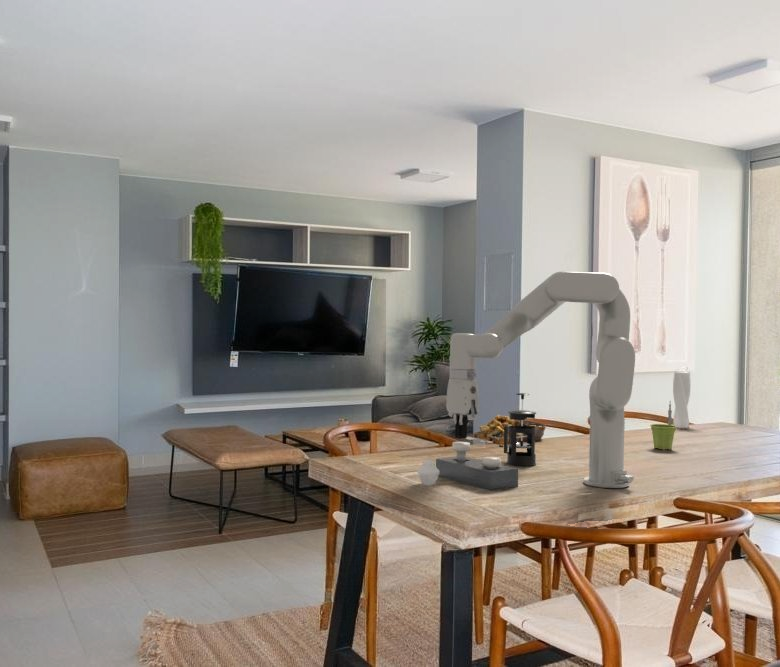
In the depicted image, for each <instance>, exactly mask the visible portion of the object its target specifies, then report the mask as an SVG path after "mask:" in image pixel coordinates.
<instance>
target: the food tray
mask: <svg viewBox="0 0 780 667" xmlns="http://www.w3.org/2000/svg"><path fill="white" fill-rule="evenodd" d="M521 422H522V420H513V419H510V416H508V415H507V416H506V415H500V414H496V416H494V418H492V420H490V421H489V422H488V424H485V425H479V431H474V432H473V433H472V434H473V437H471V436H467V438H464V439H465V440H469V441H477V442H480V443H481V444H488V445H493V444H494V445H495V444H497V445H498V447H499V448H501V447H502V448H504V427H505V426H521ZM531 424H532V425H531ZM523 426H532V427H536V432H535V441H539V440H542V438H543V437H544V435H545V429H547V425H545V424H543V423H540V422H537V421H533V420H528V419H525V420H523ZM520 441H521V433H516V442H517V443H520ZM522 441H523V443H527V433H522ZM508 445H509V431H508Z"/></svg>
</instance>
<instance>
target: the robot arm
mask: <svg viewBox="0 0 780 667" xmlns="http://www.w3.org/2000/svg"><path fill="white" fill-rule="evenodd" d="M567 302H568V303H581V304H582V303H583V304H584V303H585V304H586V303H587V304H594V305H595V306H596V308H597V310H598V315H599V322H598V334H597V342H596V348H595V358H596V361H597V362H598V371H597V376H596V377H595V378H594V379H593V380H592V381H591V383H590V387H589V394H588V396H589V397H588V398H589V399H588V400H589V417H590V418H589V454H588V455H589V456H588V457H589V458H588V459H589V460H588V476H585V477H584V478H582V480H583V483H584V485H587V486H590V487H594V488H605V489H623V488H626V487H629V485H630V484H632V482H633V481H634V480H635V478H634V476H633V475H628V471H627V469H624V463H625V461H624V460H625V458H624V457H625V424H626V423H625V407H626V406H627V405H628V404H629V402H630V399H631V396H632V393H633V384H634V377H635V366H636V365H635V364H636V352H635V348H634V346H633V343H632V342H630V332H631V331H630V330H631V329H630V328H631V308H630V305H629V302H628V300H627V297H626V296H625V294H624V293H623V292H622V290H621V289H620V283H619V282H618V280H617V278H616V277H615V276H613V275H611V274H610V273H606V272H587V271H585V272H583V271H581V272H580V271H564V270H563V271H556V272H555V273H552V274H551V275H549V276H548V277H547V278H546V279H545V280H543V281H542V282H541V283H540V284H539V285H537V286H536V287H534V289H533V290H532V291H530V292H529V293H528V294H527V295H526V296H524V297H523V298H522V299H521V300H519V301H518V302H517V304H515V305H514V306H513V307H512V308H511V309H510V310H509V311H508V313H507V314H506V315H504V316H503V317H502V318H501V319H499V321H497V322H496V323H495V324H494V325H493V326H491V327H490V328H489V329H488V330H486V331H485V332H484V333H482V334H474V333H469V332H467V333H466V332H460V333H459V332H457V333H456V332H455V333H453V334H452V335H451V336H450V344H449V345H450V348H449V379H448V384H447V388H446V399H445V401H446V403H445V406H446V411H447V412H448V413H447V414H448V416H449V417H450V418H452V420H453V424H454V425H455V426H454V439H458V440H459V439H465V438H467V437H468V425H469V424H470V422H471V421H472V420H475V419H476V416H475V415H479V412H480V394H479V386H478V381H477V380H476V377H477V376H476V375H477V374H476V368H477V367H476V365H477V363H476V362H477V358H479V359H484V360H494V359H496V358H498V357H499V356H500V355H501V354H502V352H503V351H504V350H505V349H506V348H508V347H509V346H510V345H511V344H512V343H513V342H515V341H516V340H517V339H518V338H520V337H521V336H523V335H524V334H525V333H527V332H529V331H531V330H532V329H534V328H536V327H537V326H538V325H540V324H541V323H542V322H543V321H544V320H545V319H546V318H548V317H550V315H552V313H554V312H555V311H556V310H557V309H559V307H561V306H562V305H563V304H565V303H567Z"/></svg>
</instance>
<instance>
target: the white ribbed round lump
mask: <svg viewBox="0 0 780 667" xmlns="http://www.w3.org/2000/svg"><path fill="white" fill-rule="evenodd" d="M439 473H440V471H439V470H438V468H437V467H436V461H434V460H432V459H426V460H424V461H423V462H422V464H421V466H420V467H419V468H418V469H417V474H418V478H419V481H420V482H421V484H422V485H423V486H426V487H427V486H434V485H435V484H436V482H437V480H438V478H439V476H438V475H439Z"/></svg>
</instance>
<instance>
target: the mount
mask: <svg viewBox="0 0 780 667" xmlns="http://www.w3.org/2000/svg"><path fill="white" fill-rule="evenodd" d="M435 466H436V467H437V468H438V470H439V471H440V473H439V475H438V477H440V478H444V479H448V480H450V481H454V482H458V483H462V484H466V485H468V486H472V487H476V488H480V489H484V490H488V491H491V492H492V491H498V490H505V489H513V488H518V487H519V468H517V467H514V466H510V465H508V466H507V465H504V464H503V465H502V464H501V466H500V467H496V468H495V469H489V468H487V467H486V466H482V459H481V460H480V459H476V458H474V457H467V456H466V461H463V462H459V461H457V456H450V457H440V458H435Z"/></svg>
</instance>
